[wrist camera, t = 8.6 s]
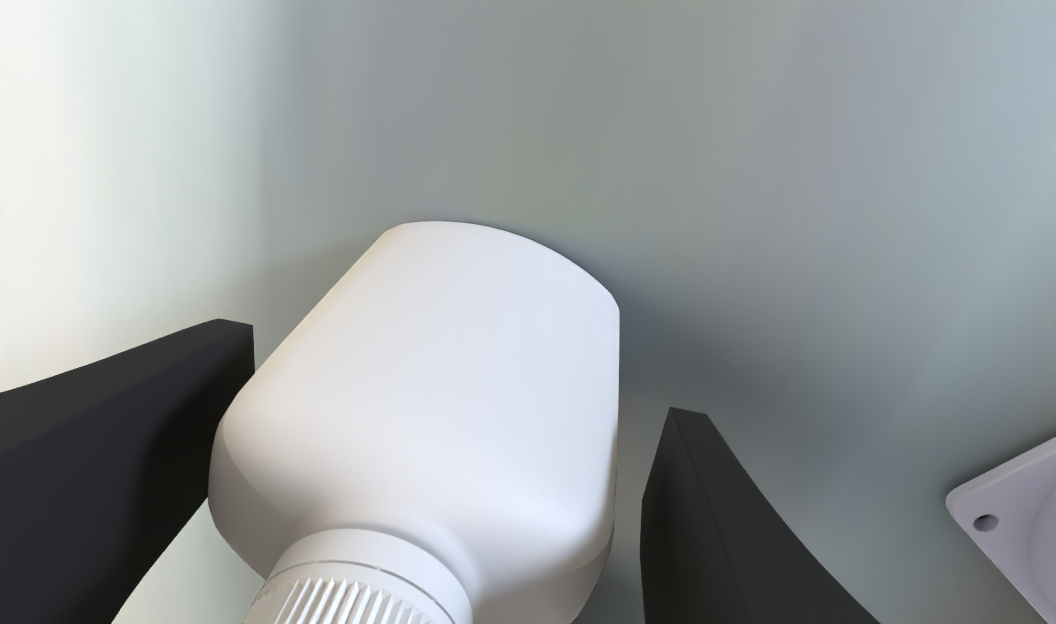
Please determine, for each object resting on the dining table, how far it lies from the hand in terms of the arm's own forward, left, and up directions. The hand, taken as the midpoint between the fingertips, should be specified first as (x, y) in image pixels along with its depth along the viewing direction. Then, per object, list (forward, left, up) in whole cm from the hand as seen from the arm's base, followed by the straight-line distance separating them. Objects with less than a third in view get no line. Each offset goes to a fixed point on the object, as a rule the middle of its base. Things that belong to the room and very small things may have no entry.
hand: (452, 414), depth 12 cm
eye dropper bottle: (0, 0, -5) cm, 5 cm away
